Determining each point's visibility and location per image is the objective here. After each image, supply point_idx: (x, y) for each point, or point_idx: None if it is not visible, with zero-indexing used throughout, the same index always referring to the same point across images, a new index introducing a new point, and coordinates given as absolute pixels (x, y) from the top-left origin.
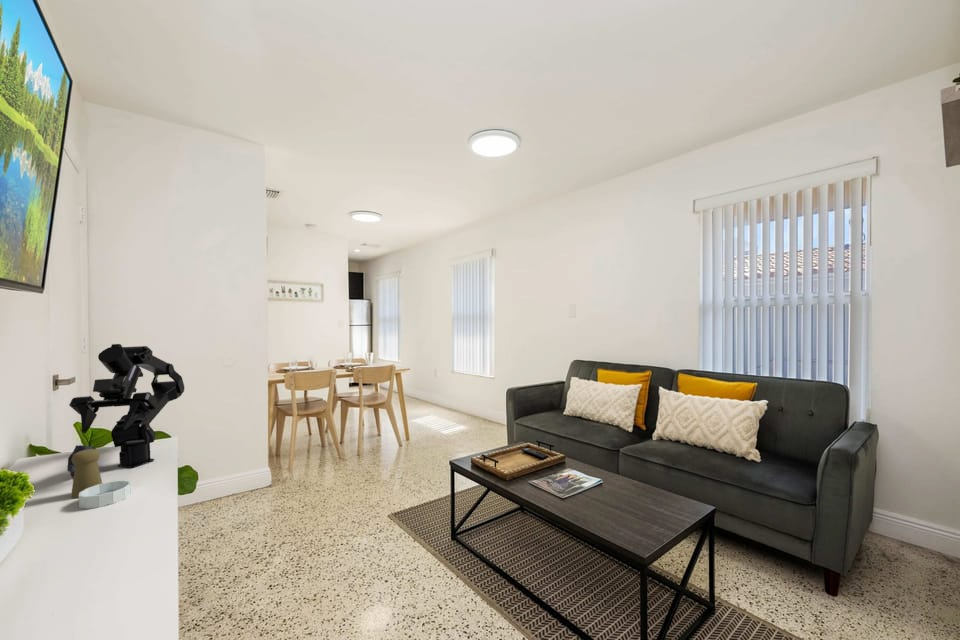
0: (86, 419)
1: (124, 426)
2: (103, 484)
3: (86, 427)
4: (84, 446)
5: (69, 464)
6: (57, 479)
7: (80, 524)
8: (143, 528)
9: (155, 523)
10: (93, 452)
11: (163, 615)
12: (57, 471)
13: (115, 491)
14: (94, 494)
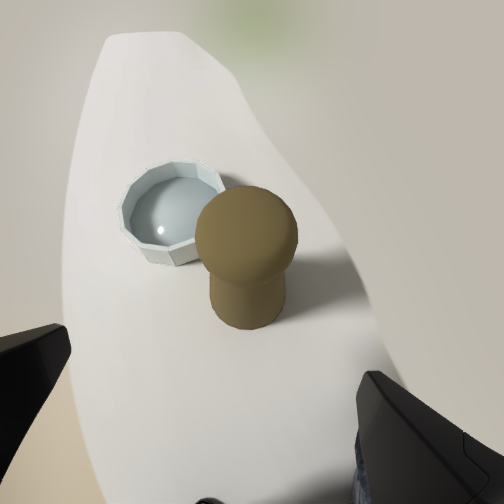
0: (423, 449)
1: (47, 326)
2: (187, 242)
3: (372, 414)
4: (365, 471)
5: None
6: None
7: (186, 124)
8: (107, 101)
9: (95, 109)
10: (205, 206)
11: (108, 39)
12: None
13: (142, 172)
14: None
